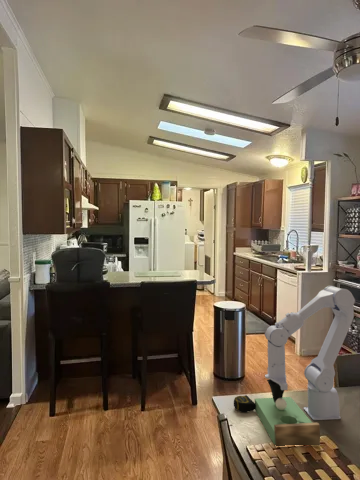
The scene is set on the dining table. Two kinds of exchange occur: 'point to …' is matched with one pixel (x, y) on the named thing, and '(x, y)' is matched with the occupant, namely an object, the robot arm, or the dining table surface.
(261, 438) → the dining table surface
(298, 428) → the end rail
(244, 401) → the tape measure
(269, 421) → the green
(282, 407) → the ball
